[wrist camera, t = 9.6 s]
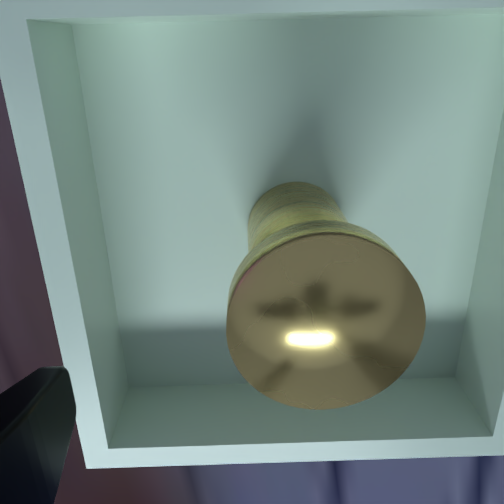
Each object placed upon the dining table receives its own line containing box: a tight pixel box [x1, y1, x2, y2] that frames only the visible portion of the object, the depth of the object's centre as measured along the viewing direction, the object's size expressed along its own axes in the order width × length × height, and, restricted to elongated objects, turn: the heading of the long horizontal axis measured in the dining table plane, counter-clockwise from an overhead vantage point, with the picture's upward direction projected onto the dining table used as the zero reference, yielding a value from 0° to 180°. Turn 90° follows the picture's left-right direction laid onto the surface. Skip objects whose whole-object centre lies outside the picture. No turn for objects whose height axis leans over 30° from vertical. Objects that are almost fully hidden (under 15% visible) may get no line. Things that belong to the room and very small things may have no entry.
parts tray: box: [0, 0, 504, 469], centre depth 14 cm, size 14×14×4 cm
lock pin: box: [226, 182, 426, 410], centre depth 12 cm, size 4×4×6 cm
